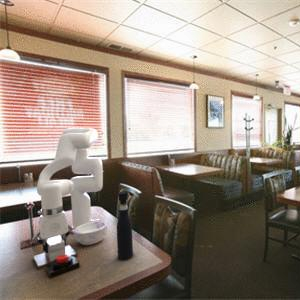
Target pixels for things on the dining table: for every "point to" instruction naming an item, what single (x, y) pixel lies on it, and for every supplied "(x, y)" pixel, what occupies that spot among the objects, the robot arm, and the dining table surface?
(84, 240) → the white round bowl
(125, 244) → the wine bottle
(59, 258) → the button
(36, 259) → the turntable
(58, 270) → the control block
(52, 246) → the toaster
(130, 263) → the dining table surface
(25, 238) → the dining table surface
